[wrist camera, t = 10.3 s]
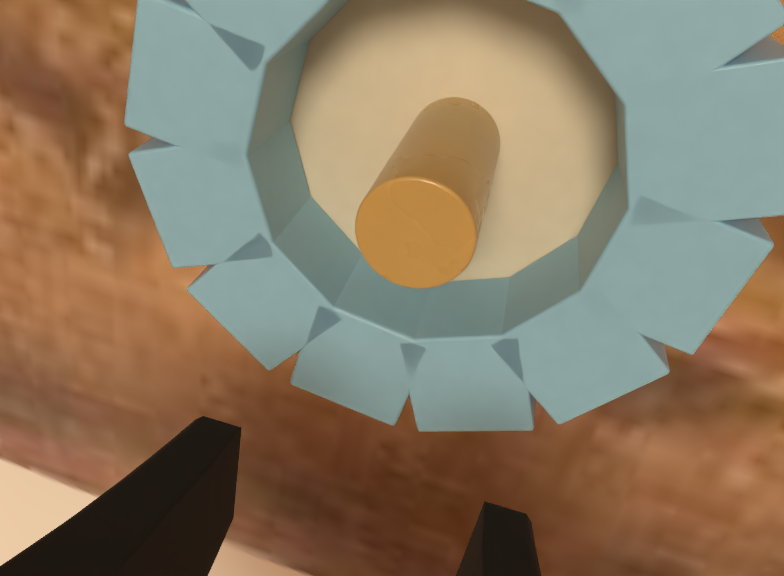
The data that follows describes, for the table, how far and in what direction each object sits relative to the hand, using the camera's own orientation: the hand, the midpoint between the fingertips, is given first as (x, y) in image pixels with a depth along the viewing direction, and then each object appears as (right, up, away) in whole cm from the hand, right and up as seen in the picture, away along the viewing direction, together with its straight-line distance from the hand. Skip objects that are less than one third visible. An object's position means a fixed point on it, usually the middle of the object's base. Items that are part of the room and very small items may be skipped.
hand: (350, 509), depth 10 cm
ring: (+2, +7, +5) cm, 8 cm away
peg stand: (+2, +7, +6) cm, 9 cm away
